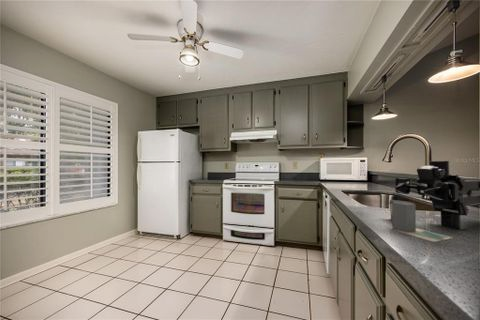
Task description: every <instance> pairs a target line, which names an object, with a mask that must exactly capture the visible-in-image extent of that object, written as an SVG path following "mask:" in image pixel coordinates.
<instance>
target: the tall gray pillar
mask: <svg viewBox="0 0 480 320" xmlns="http://www.w3.org/2000/svg"><path fill="white" fill-rule="evenodd" d="M411 203H412V202H411ZM411 203H405V202H393V203H392V219H391V220H392V224H391V225H392V226H391V227H392V228H393V229H396V230H400V231H403V232H407V233H408V232H413V231H416V228H417V227H416V225H417V224H416V223H417V222H416V209H415V208H416V203H413V204H411Z"/></svg>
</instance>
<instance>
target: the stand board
mask: <svg viewBox="0 0 480 320" xmlns="http://www.w3.org/2000/svg"><path fill="white" fill-rule="evenodd" d="M386 229H389V230H392V231H396V232H399V233H402V234H406V235H409V236H413V237H416V238H419V239H423V240H426V241H429V242H432V243H434V242H439V241H444V240H445V241H446V240H450V239H453V238H454V237H453V236H449V235H445V234H442V233H438V232H433V231H431V230H430V231H429V230H426V229H422V228H418V227H416V231H413V232H408V233H407V232H403V231H400V230H396V229H393V228H392V226H388V227H386Z"/></svg>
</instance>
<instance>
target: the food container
mask: <svg viewBox="0 0 480 320" xmlns="http://www.w3.org/2000/svg"><path fill="white" fill-rule="evenodd" d="M393 202H405V203H411V204H414V202H410V201H406V200H399V199H398V200H396V199H389V211H390V220H392V203H393ZM416 209H417V208H416V207H415V210H416Z"/></svg>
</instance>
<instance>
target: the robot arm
mask: <svg viewBox="0 0 480 320" xmlns="http://www.w3.org/2000/svg"><path fill="white" fill-rule="evenodd" d="M416 173H417V176H418V178H417V179H416V182H412V181H411V180H410V179H409V178H402V177H397V178H395V188H394V189H395V192H396V194H401V195H408V194H410V193H411V189H415V190H416V191H417V195H420V196H425V197H431V204H432V206H433V207H432V208H433V210H434V212H440V224H439V223H438V224H437V226H441V227H445V228H449V229H454V230H459V231H462V230H466V227H464V226H463V227H462V219H461V218H462V216H464V217H465V216H468V214H469V208H468V206H472V205H473V206H474V205H480V180H479V179H462V178H461V177H460V176H459V175H458V174H450V161H449V160H429V161H428V165H422V166H420V167H418V168H417V169H416ZM464 193H465V194H464Z"/></svg>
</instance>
